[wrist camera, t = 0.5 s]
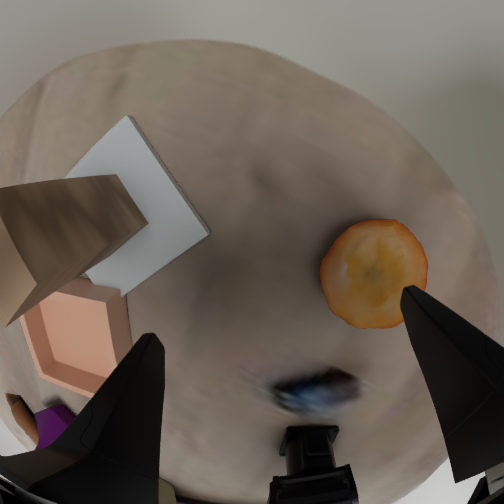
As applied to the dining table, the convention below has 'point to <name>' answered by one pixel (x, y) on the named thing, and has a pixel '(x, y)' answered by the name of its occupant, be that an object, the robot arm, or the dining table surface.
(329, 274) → the fruit
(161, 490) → the plant pot
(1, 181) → the dining table surface
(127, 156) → the light grey board
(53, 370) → the box
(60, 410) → the perfume bottle
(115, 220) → the walnut block
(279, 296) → the dining table surface
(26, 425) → the sunglasses case
